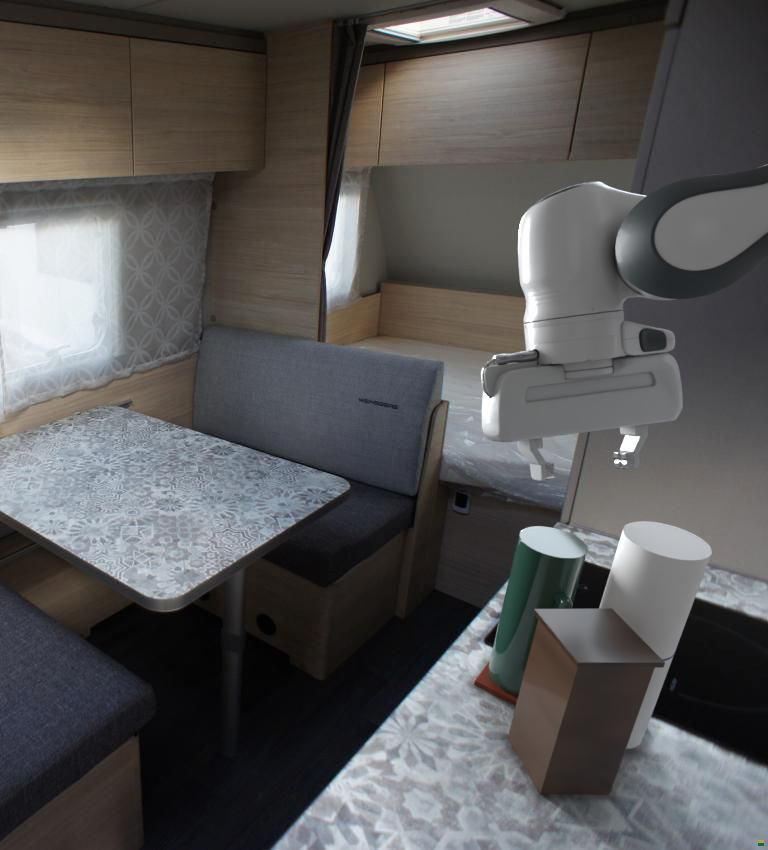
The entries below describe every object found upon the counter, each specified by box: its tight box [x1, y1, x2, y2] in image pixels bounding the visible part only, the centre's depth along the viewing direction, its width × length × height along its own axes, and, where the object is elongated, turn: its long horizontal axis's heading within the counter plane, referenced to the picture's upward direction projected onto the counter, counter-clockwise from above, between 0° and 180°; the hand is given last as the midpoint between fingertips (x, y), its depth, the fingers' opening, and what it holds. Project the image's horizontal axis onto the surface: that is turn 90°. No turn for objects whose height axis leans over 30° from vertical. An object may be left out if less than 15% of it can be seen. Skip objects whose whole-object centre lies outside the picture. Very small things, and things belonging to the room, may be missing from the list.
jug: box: [488, 525, 588, 697], centre depth 78 cm, size 8×7×20 cm
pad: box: [473, 660, 518, 706], centre depth 83 cm, size 8×7×1 cm
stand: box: [507, 608, 665, 796], centre depth 69 cm, size 8×8×18 cm
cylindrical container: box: [598, 520, 713, 750], centre depth 72 cm, size 7×7×25 cm
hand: (585, 473), depth 72 cm, fingers open, 8 cm apart
